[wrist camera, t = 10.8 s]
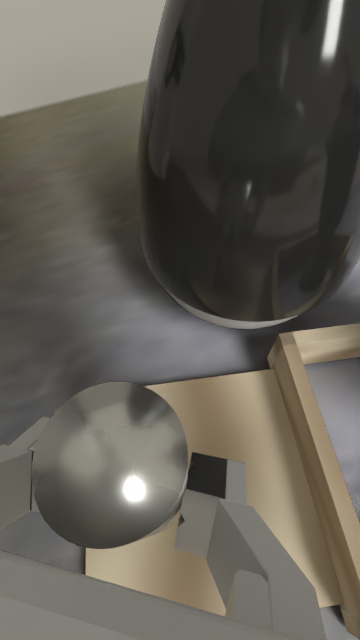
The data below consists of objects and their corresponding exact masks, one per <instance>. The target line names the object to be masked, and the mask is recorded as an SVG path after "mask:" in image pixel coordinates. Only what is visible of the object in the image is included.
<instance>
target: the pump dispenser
mask: <svg viewBox="0 0 360 640" xmlns="http://www.w3.org/2000/svg"><path fill="white" fill-rule="evenodd" d="M137 224H138V233H139V240H140V245H141V249H142V253H143V256H144V259H145V261H146V264H147V266H148V268H149V269H150V271H151V273H152V274H153V276H154V277H155V278H156V279H157V281H158V282H159V283H160V284H161V285H162V286H163V287H164V288H165V289H166V290H167V291H168V292H169V294H170V295H171V296H172V297H173V298H174V299H175V300H176V301H177V302H178V303H179V304H180V305H181V306H182V307H184V308H185V309H186V310H188V311H189V312H191V313H192V314H194V315H196V316H197V317H199V318H201V319H203V320H205V321H208V322H210V323H213V324H216V325H220V326H224V327H229V328H236V329H257V328H264V327H269V326H273V325H277V324H280V323H283V322H286V321H288V320H290V319H292V318H294V317H296V316H298V315H300V314H303V313H305V312H308V311H310V310H312V309H314V308H316V307H318V306H319V305H321V304H323V303H324V302H325V301H327V300H328V299H329V298H331V297H332V296H333V295H334V294H335V293H336V292H337V291H338V290H339V289H340V288H341V287H342V285H343V284H344V283H345V281H346V280H347V279H348V277H349V276H350V274H351V272H352V271H353V269H354V268H355V266H356V264H357V262H358V260H359V259H360V0H166V3H165V7H164V11H163V15H162V18H161V22H160V26H159V30H158V35H157V39H156V43H155V48H154V52H153V57H152V62H151V66H150V71H149V76H148V80H147V86H146V91H145V97H144V103H143V110H142V117H141V124H140V133H139V144H138V157H137Z"/></svg>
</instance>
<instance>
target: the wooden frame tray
mask: <svg viewBox="0 0 360 640" xmlns="http://www.w3.org/2000/svg"><path fill="white" fill-rule="evenodd" d="M357 357H360V323H356V324H348V325H341V326H333V327H325V328H317V329H310V330H302V331H294V332H286V333H279V334H278V336H277V338H276V340H275V342H274V344H273V347H272V349H271V351H270V353H269V355H268V357H267V359H268V363H269V366H270V369H269V370H261V371H254V372H246V373H239V374H231V375H224V376H216V377H209V378H202V379H194V380H187V381H179V382H172V383H164V384H157V385H149V386H141V385H138V384H135V383H129V382H107V383H102V384H98V385H95V386H91V387H89V388H87V389H85V390H82V391H81V392H79V393H77V394H75V395H74V396H72V397H71V398H70V399H68V400H67V401H66V402H65V403H64V404H63V405H61V406H60V407H59V408H58V409H57V411H56V412H55V413H54V414H53V415H52V416H51V418H50V419H49V421H48V422H47V424H46V425H45V427H44V429H43V431H42V432H41V434H40V437H39V439H38V442H37V444H36V447H35V451H34V455H33V461H32V470H31V480H32V489H33V494H34V498H35V501H36V504H37V506H38V509H39V511H40V513H41V514H42V516H43V518H44V519H45V521H46V522H47V523H48V525H49V526H50V527H51V528H52V529H53V530H54V531H55V532H56V533H57V534H58V535H60V536H61V537H63V538H64V539H66V540H67V541H69V542H71V543H74V544H76V545H78V546H82V547H86V575H87V576H90V577H94V578H97V579H101V580H104V581H108V582H111V583H114V584H118V585H121V586H124V587H128V588H131V589H134V590H138V591H141V592H145V593H148V594H151V595H155V596H158V597H161V598H165V599H168V600H171V601H175V602H178V603H182V604H185V605H188V606H192V607H195V608H198V609H202V610H205V611H208V612H212V613H215V614H218V615H222V616H225V613H226V608H225V606H224V603H223V601H222V598H221V596H220V593H219V591H218V588H217V586H216V584H215V581H214V579H213V576H212V574H211V571H210V569H209V566H208V564H207V561H206V559H205V558H202V557H199V556H196V555H192V554H189V553H186V552H183V551H179V550H176V549H174V546H175V540H176V533H177V527H178V522H179V517H180V513H181V512H180V509H181V504H182V498H183V495H184V492H185V488H186V484H187V479H188V470H189V466H190V460H191V456H192V452H196V453H201V454H206V455H210V456H215V457H219V458H224V459H231V460H236V461H241V462H245V464H246V486H247V505H250V506H253V508H254V509H255V510H256V511H257V513H258V514H259V515H260V517H261V518H262V519H263V521H264V522H265V523H266V525H267V526H268V527H269V529H270V530H271V531H272V532H273V534H274V535H275V536H276V538H277V539H278V540H279V542H280V543H281V544H282V546H283V547H284V548H285V550H286V551H287V552H288V553H289V555H290V556H291V557H292V559H293V560H294V561H295V563H296V564H297V565H298V567H299V568H300V569H301V571H302V572H303V573H304V574H305V576H306V577H307V578H308V580H309V581H310V582H311V584H312V585H313V586H314V588H315V590H316V594H317V599H318V603H319V608H322V607H327V606H333V605H340V608H341V612H342V615H343V619H344V622H345V625H346V629H347V631H348V632H349V633H351V634H352V635H354V636H355V637H357V638H358V639H360V523H359V520H358V517H357V514H356V512H355V509H354V506H353V503H352V500H351V497H350V495H349V492H348V489H347V486H346V483H345V480H344V477H343V475H342V472H341V469H340V466H339V463H338V460H337V458H336V455H335V452H334V449H333V446H332V443H331V440H330V438H329V435H328V432H327V429H326V426H325V423H324V421H323V418H322V415H321V412H320V409H319V406H318V403H317V401H316V398H315V395H314V392H313V389H312V386H311V384H310V381H309V378H308V375H307V372H306V369H305V366H304V365H305V364H312V363H320V362H327V361H334V360H342V359H349V358H357Z"/></svg>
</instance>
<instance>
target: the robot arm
mask: <svg viewBox="0 0 360 640" xmlns="http://www.w3.org/2000/svg"><path fill="white" fill-rule="evenodd" d="M50 418H51V417H46V416H45V417H41V418H40V419H39V420H38V421H37V422H36V423H34V424H33V425H32V426H31V427H30V428H29V429H28V430H26V431H25V432H24V433H23V434H22V435H21V436H20V437H18V438H17V439H16V440H15V441H14V442H13V443H12V444H10V445H9V446H8V445H1V446H0V530H2V529H3V528H5V527H7V526H8V525H10V524H12V523H13V522H15V521H16V520H18V519H20V518H21V517H23V516H25V515H26V514H28V513H30V511H34V512H38V513H40V511H39V509H38V506H37V504H36V501H35V498H34V494H33V489H32V480H31V470H32V461H33V455H34V451H35V447H36V444H37V442H38V439H39V437H40V434H41V432H42V431H43V429H44V427H45V425H46V424H47V422H48V421H49V419H50ZM180 512H181V513H180V517H179V522H178V527H177V533H176V540H175V546H174V549H176V550H179V551H183V552H186V553H189V554H192V555H196V556H199V557H202V558H205V559H206V561H207V564H208V566H209V569H210V571H211V574H212V576H213V579H214V581H215V584H216V586H217V588H218V591H219V593H220V596H221V598H222V601H223V603H224V606H225V608H226V613H225V616H222V615H218V614H215V613H212V612H208V611H205V610H202V609H198V608H195V607H192V606H188V605H185V604H182V603H178V602H175V601H171V600H168V599H165V598H161V597H158V596H155V595H151V594H148V593H145V592H141V591H138V590H134V589H131V588H128V587H124V586H121V585H118V584H114V583H111V582H108V581H104V580H101V579H97V578H94V577H90V576H87V575H84V574H80V573H77V572H73V571H70V570H67V569H63V568H60V567H56V566H53V565H50V564H46V563H43V562H39V561H36V560H33V559H29V558H26V557H22V556H19V555H16V554H12V553H9V552H5V551H2V550H0V640H326V636H325V631H324V626H323V622H322V617H321V613H320V608H319V603H318V599H317V594H316V590H315V588H314V586H313V585H312V584H311V582H310V581H309V580H308V578H307V577H306V576H305V574H304V573H303V572H302V571H301V569H300V568H299V567H298V565H297V564H296V563H295V561H294V560H293V559H292V557H291V556H290V555H289V553H288V552H287V551H286V550H285V548H284V547H283V546H282V544H281V543H280V542H279V540H278V539H277V538H276V536H275V535H274V534H273V532H272V531H271V530H270V529H269V527H268V526H267V525H266V523H265V522H264V521H263V519H262V518H261V517H260V515H259V514H258V513H257V511H256V510H255V509H254V508H253V506H250V505H247V486H246V464H245V462H241V461H236V460H231V459H224V458H219V457H215V456H210V455H206V454H201V453H196V452H192V456H191V460H190V466H189V470H188V479H187V484H186V488H185V492H184V495H183V498H182V504H181V509H180Z"/></svg>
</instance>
